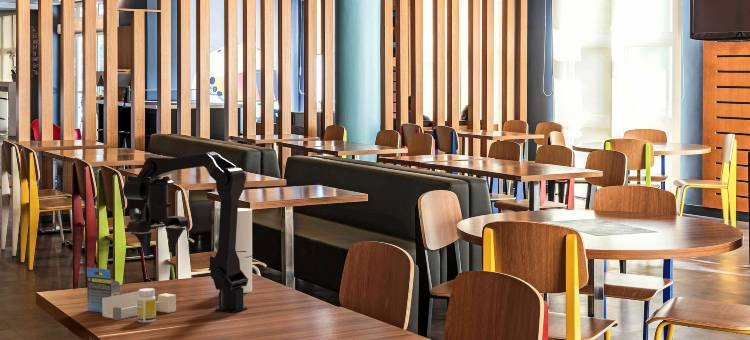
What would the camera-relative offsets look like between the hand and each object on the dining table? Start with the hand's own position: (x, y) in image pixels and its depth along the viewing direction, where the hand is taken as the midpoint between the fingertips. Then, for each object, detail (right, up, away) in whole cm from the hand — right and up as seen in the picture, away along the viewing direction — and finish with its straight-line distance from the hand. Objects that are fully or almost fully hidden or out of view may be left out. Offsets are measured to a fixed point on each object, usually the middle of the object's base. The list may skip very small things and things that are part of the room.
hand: (158, 254), depth 305 cm
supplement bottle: (+2, -16, -25) cm, 29 cm away
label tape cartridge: (-13, -15, -13) cm, 24 cm away
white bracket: (-2, -15, -15) cm, 21 cm away
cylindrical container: (+21, -13, +18) cm, 31 cm away
